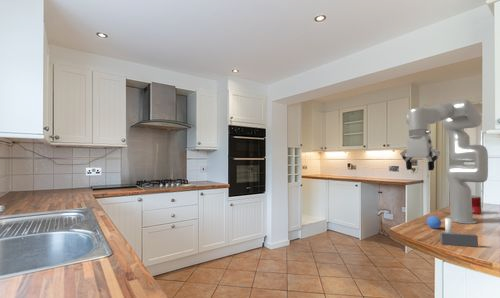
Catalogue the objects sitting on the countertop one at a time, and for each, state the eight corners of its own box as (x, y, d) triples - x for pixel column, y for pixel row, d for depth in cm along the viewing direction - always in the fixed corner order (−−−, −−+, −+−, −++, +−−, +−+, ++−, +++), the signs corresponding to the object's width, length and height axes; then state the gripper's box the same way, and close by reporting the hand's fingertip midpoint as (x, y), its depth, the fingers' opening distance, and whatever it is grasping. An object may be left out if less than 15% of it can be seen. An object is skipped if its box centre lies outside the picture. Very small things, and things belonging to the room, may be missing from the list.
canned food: (484, 214, 156) (483, 196, 156) (469, 214, 158) (468, 196, 158) (476, 212, 163) (475, 195, 164) (461, 211, 165) (461, 194, 165)
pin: (447, 237, 114) (446, 217, 114) (453, 238, 112) (452, 218, 112) (444, 238, 112) (443, 218, 113) (451, 239, 110) (450, 219, 111)
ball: (430, 226, 132) (429, 214, 132) (443, 228, 127) (443, 216, 127) (424, 227, 129) (424, 216, 129) (438, 230, 124) (437, 218, 124)
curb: (440, 242, 106) (439, 232, 106) (475, 245, 102) (474, 234, 103) (442, 244, 104) (441, 233, 104) (478, 247, 101) (477, 235, 101)
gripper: (443, 132, 115) (444, 170, 114) (404, 135, 130) (406, 169, 129) (434, 131, 111) (435, 170, 111) (395, 135, 127) (397, 169, 126)
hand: (419, 169), depth 120 cm, fingers open, 9 cm apart
